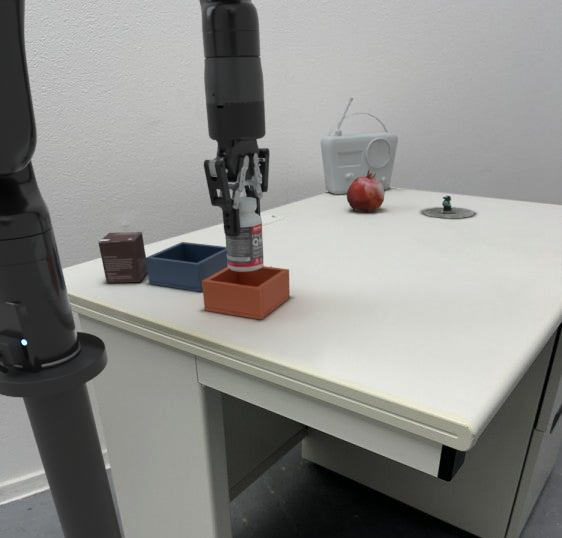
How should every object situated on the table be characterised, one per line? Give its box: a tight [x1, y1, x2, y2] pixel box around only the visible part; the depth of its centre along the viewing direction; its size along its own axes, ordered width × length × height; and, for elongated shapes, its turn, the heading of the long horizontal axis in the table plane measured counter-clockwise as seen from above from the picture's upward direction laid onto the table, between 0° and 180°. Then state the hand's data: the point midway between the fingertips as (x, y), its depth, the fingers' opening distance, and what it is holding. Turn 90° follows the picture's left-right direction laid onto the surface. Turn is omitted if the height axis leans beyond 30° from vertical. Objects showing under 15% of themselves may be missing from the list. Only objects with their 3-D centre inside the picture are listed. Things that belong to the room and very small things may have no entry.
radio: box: [320, 96, 399, 195], centre depth 155 cm, size 22×8×25 cm, turn 109°
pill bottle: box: [224, 196, 265, 272], centre depth 78 cm, size 5×5×10 cm
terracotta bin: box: [202, 265, 291, 320], centre depth 82 cm, size 10×10×5 cm
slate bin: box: [145, 241, 228, 293], centre depth 94 cm, size 11×11×5 cm
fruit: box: [346, 170, 385, 213], centre depth 136 cm, size 9×10×10 cm
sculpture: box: [422, 195, 475, 219], centre depth 133 cm, size 12×9×8 cm
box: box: [98, 231, 148, 284], centre depth 94 cm, size 6×6×7 cm
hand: (243, 230), depth 78 cm, fingers closed on pill bottle, 5 cm apart
